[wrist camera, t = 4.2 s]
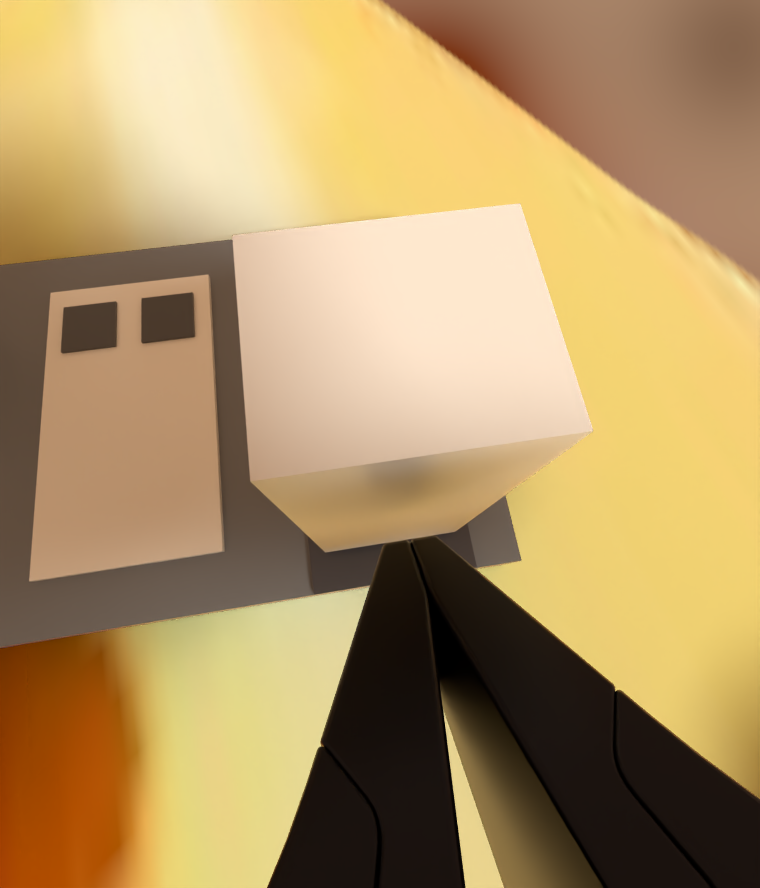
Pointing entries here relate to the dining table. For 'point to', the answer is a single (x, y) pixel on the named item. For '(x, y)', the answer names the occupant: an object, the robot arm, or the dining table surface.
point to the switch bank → (147, 454)
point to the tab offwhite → (400, 371)
